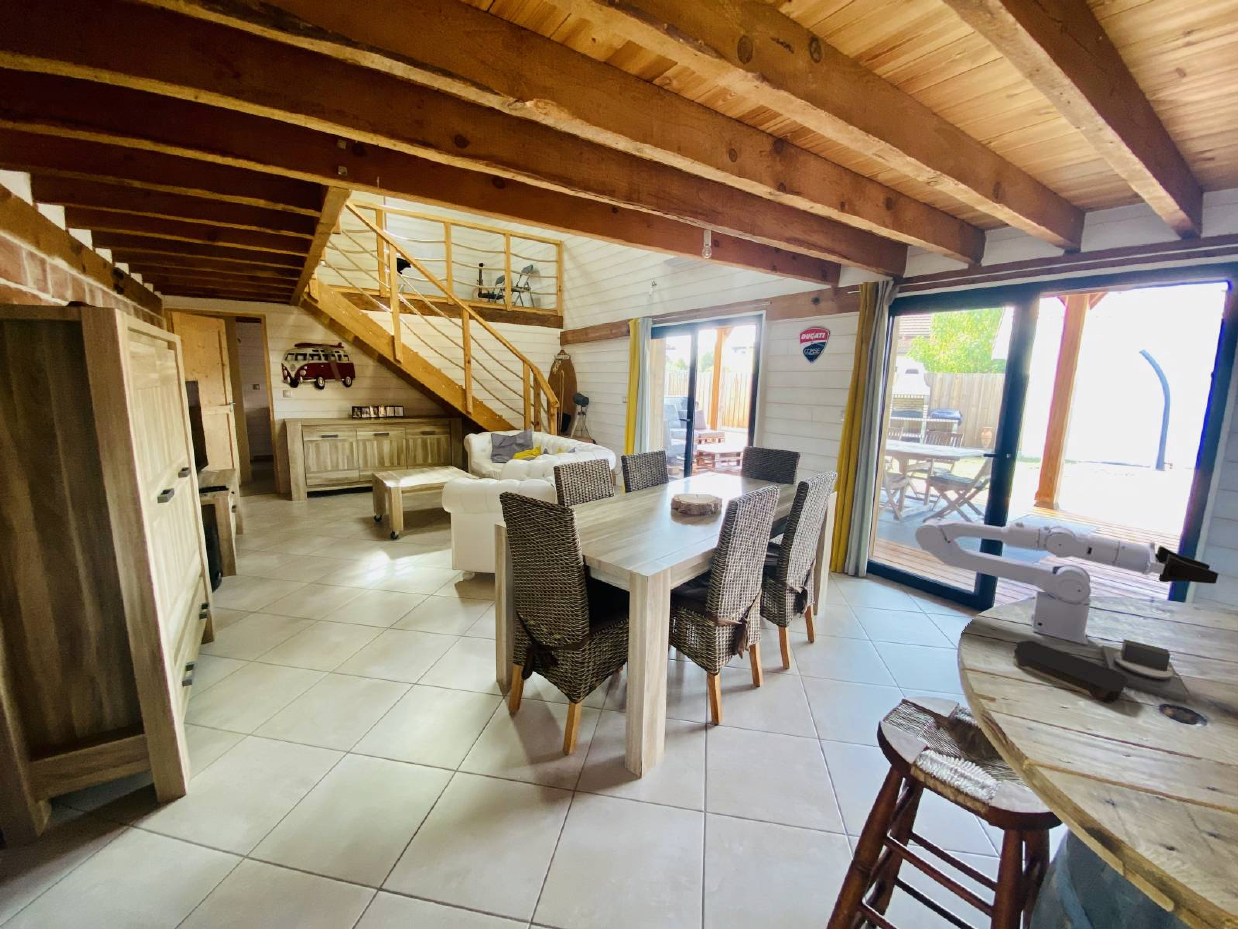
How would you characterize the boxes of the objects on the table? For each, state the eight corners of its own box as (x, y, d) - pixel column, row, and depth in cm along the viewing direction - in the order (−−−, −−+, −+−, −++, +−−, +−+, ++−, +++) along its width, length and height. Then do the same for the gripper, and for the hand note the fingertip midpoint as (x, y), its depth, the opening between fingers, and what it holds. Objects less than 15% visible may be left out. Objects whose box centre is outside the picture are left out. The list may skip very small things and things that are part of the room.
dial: (1116, 668, 96) (1121, 648, 95) (1110, 651, 102) (1114, 632, 101) (1176, 684, 91) (1181, 663, 90) (1166, 665, 97) (1171, 645, 96)
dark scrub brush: (1127, 693, 91) (1131, 676, 91) (1114, 709, 87) (1117, 691, 86) (1022, 652, 105) (1024, 637, 104) (1005, 664, 101) (1008, 648, 100)
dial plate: (1110, 681, 94) (1111, 673, 94) (1100, 651, 105) (1102, 644, 105) (1187, 703, 88) (1189, 695, 88) (1168, 668, 99) (1170, 661, 98)
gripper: (1123, 541, 99) (1227, 562, 90) (1118, 531, 110) (1210, 548, 100) (1114, 574, 100) (1216, 597, 91) (1110, 560, 111) (1200, 580, 102)
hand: (1212, 574), depth 96 cm, fingers open, 7 cm apart
